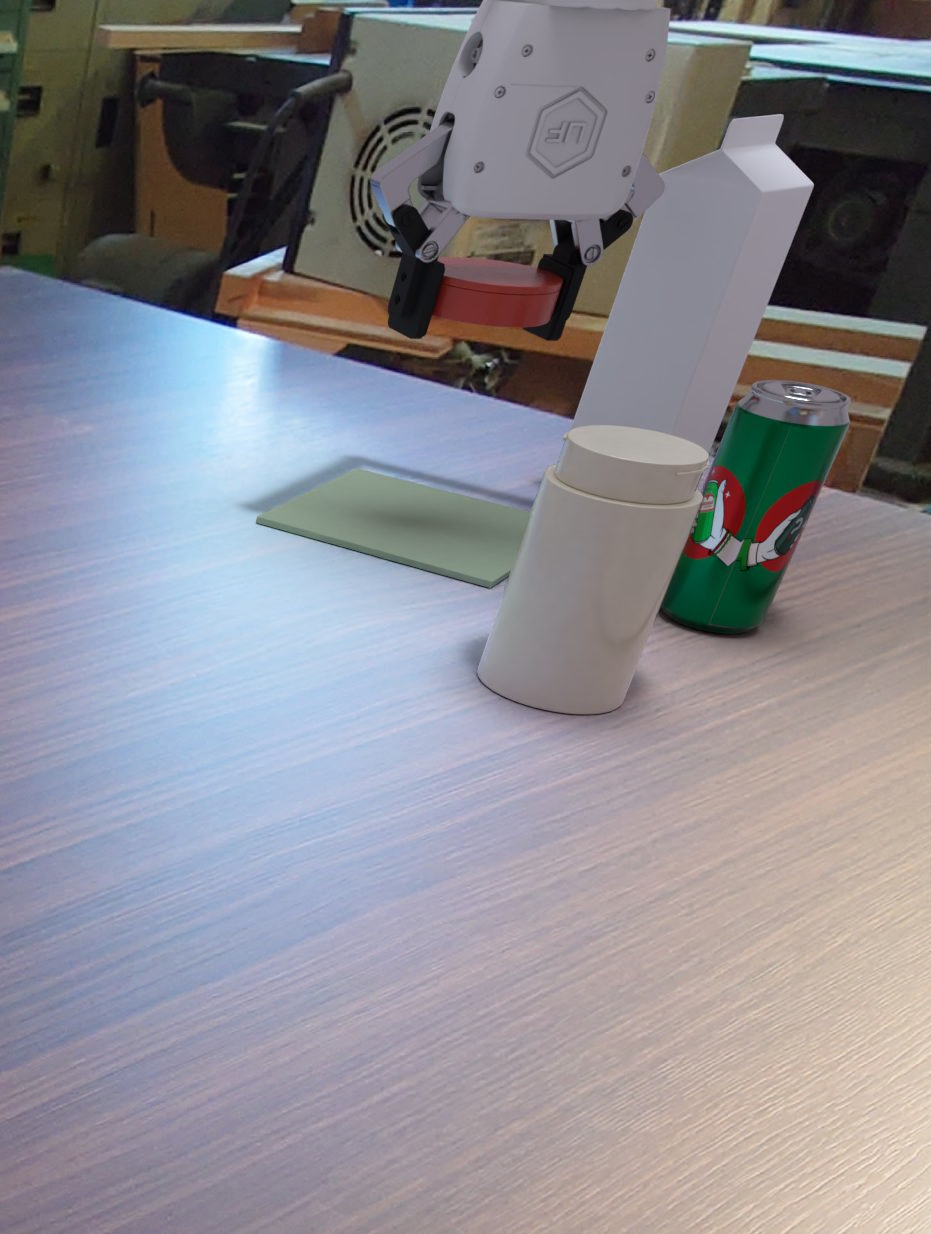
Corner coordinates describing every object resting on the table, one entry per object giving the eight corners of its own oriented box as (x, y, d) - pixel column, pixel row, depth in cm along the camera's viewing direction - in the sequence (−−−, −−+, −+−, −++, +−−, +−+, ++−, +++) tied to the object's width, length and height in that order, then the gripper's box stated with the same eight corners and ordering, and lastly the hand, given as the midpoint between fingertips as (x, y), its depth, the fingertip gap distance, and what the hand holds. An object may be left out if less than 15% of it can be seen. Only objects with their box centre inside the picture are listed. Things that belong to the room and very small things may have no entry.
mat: (577, 530, 101) (580, 524, 101) (490, 588, 93) (492, 581, 93) (354, 473, 109) (356, 467, 109) (255, 522, 101) (256, 516, 100)
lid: (440, 325, 91) (453, 284, 90) (387, 293, 97) (398, 254, 96) (574, 330, 91) (588, 289, 90) (513, 298, 97) (525, 260, 96)
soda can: (761, 614, 91) (859, 389, 84) (758, 645, 87) (861, 412, 81) (658, 594, 93) (745, 371, 86) (651, 623, 89) (742, 394, 83)
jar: (626, 676, 83) (720, 438, 77) (619, 726, 79) (719, 477, 72) (484, 647, 86) (563, 414, 79) (469, 694, 81) (552, 449, 74)
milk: (545, 499, 106) (674, 112, 94) (597, 484, 109) (729, 106, 97) (638, 528, 102) (786, 126, 90) (690, 511, 105) (840, 120, 93)
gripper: (460, -30, 81) (357, 350, 91) (790, -17, 83) (654, 353, 93) (386, -42, 87) (297, 315, 97) (695, -29, 89) (577, 320, 99)
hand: (472, 332), depth 95 cm, fingers closed on lid, 7 cm apart
